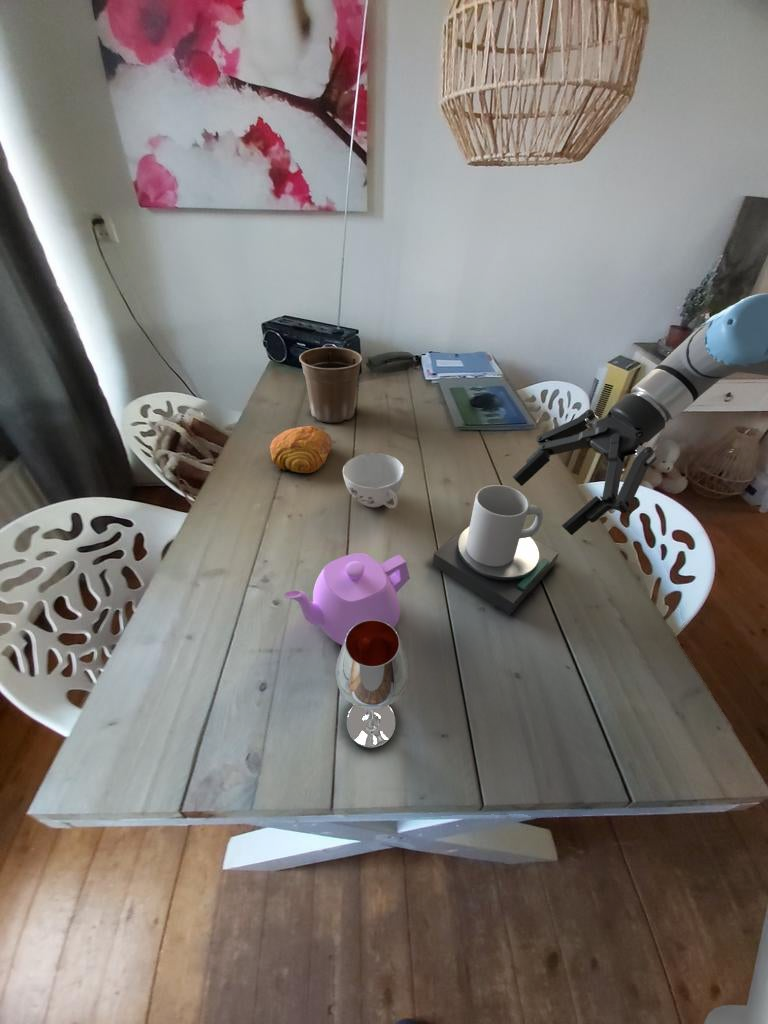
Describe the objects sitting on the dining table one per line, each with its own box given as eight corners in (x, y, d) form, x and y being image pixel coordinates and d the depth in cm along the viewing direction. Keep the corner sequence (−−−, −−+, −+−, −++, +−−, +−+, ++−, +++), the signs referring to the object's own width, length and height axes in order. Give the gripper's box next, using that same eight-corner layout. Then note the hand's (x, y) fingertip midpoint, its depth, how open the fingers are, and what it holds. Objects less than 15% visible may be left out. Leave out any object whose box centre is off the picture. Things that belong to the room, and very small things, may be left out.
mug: (473, 569, 73) (484, 518, 66) (460, 534, 80) (469, 485, 73) (541, 564, 74) (559, 514, 67) (523, 530, 81) (538, 482, 74)
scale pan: (552, 550, 78) (553, 547, 78) (511, 594, 70) (512, 590, 70) (485, 515, 86) (486, 511, 85) (442, 550, 77) (442, 547, 77)
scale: (554, 564, 81) (560, 550, 78) (509, 615, 71) (514, 601, 69) (481, 524, 89) (484, 510, 87) (432, 565, 80) (434, 550, 77)
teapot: (278, 610, 71) (268, 562, 64) (386, 568, 79) (388, 521, 72) (309, 678, 62) (302, 631, 55) (427, 622, 70) (434, 575, 63)
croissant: (337, 452, 113) (338, 422, 109) (322, 479, 99) (322, 446, 95) (282, 445, 114) (281, 415, 110) (260, 471, 101) (257, 438, 96)
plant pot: (361, 400, 132) (361, 346, 121) (363, 427, 119) (362, 368, 109) (306, 401, 130) (301, 346, 120) (302, 427, 118) (296, 368, 108)
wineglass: (414, 735, 56) (426, 655, 45) (357, 769, 53) (355, 692, 42) (382, 683, 62) (386, 600, 50) (329, 711, 58) (320, 629, 47)
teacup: (333, 492, 96) (332, 461, 91) (383, 476, 101) (384, 446, 96) (367, 532, 86) (367, 500, 81) (420, 513, 91) (423, 481, 86)
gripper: (725, 462, 60) (600, 564, 65) (599, 390, 78) (509, 474, 84) (716, 434, 55) (582, 546, 61) (584, 363, 73) (489, 454, 79)
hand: (539, 504), depth 72 cm, fingers open, 13 cm apart
